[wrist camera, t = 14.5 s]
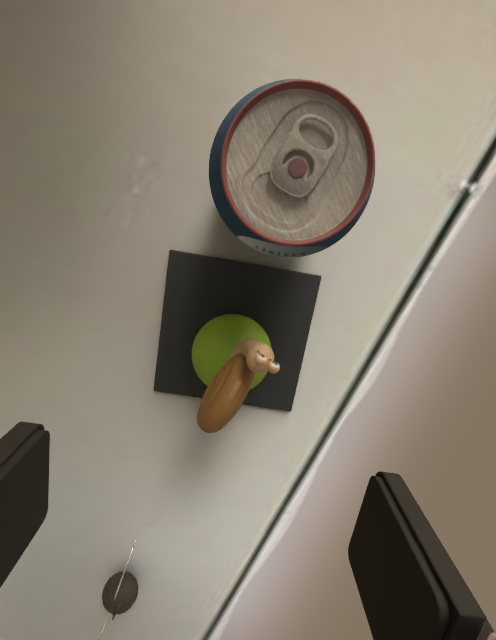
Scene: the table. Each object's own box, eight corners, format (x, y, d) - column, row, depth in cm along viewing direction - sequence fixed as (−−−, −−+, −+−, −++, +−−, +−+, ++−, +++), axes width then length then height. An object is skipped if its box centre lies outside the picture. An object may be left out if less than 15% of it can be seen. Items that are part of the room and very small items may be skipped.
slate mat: (170, 249, 26) (169, 250, 26) (320, 275, 26) (321, 276, 26) (154, 389, 29) (153, 390, 28) (290, 409, 29) (291, 411, 29)
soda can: (289, 262, 26) (324, 294, 15) (204, 212, 25) (170, 202, 14) (343, 174, 25) (430, 130, 13) (255, 116, 24) (266, 14, 12)
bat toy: (89, 629, 35) (66, 690, 31) (132, 509, 32) (113, 557, 27) (119, 637, 35) (101, 698, 31) (165, 518, 32) (152, 568, 27)
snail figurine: (290, 319, 27) (324, 392, 15) (244, 386, 28) (244, 500, 17) (227, 280, 26) (214, 326, 15) (184, 352, 28) (140, 446, 16)
